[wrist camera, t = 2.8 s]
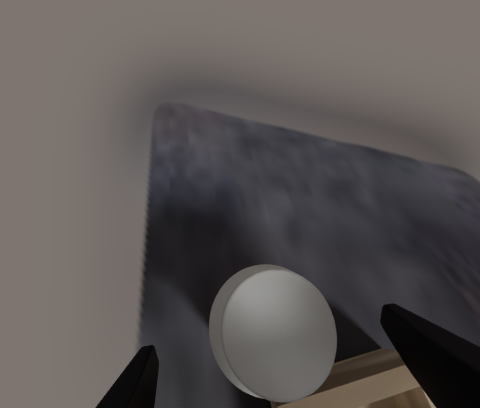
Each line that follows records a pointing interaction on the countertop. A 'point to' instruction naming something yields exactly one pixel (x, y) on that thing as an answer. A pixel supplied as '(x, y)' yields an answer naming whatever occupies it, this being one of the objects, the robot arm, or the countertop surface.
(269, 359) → the pill bottle
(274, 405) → the birch socket stand
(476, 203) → the countertop surface
